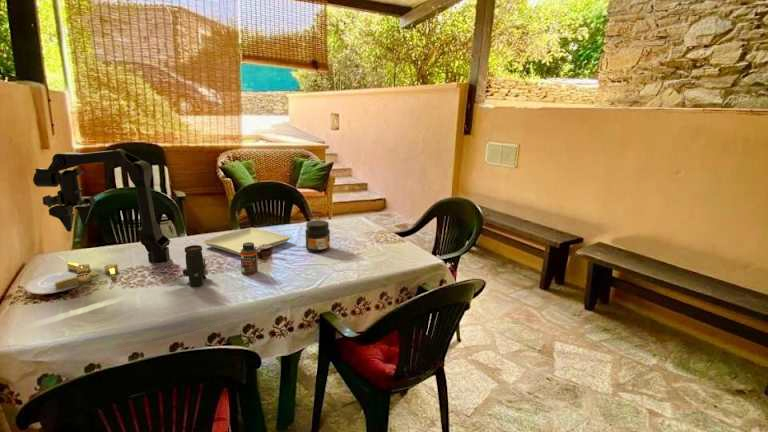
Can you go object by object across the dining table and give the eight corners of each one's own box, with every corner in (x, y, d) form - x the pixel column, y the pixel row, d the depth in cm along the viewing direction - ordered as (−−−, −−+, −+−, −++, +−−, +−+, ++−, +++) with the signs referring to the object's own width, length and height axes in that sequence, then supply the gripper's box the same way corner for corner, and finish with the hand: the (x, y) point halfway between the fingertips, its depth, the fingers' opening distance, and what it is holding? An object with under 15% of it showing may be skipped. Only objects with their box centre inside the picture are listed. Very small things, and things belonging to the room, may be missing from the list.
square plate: (292, 244, 194) (292, 236, 193) (244, 262, 172) (243, 252, 171) (251, 233, 208) (251, 225, 207) (201, 248, 186) (201, 240, 185)
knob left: (89, 278, 149) (88, 271, 148) (93, 281, 146) (92, 274, 146) (54, 287, 141) (53, 280, 141) (58, 290, 139) (56, 283, 138)
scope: (204, 240, 152) (207, 249, 143) (208, 277, 156) (211, 287, 147) (179, 243, 148) (180, 252, 140) (183, 280, 152) (184, 291, 143)
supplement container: (323, 254, 181) (323, 227, 177) (301, 251, 184) (300, 224, 181) (334, 247, 190) (333, 221, 187) (312, 244, 193) (312, 218, 190)
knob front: (93, 271, 154) (92, 264, 154) (81, 275, 151) (80, 268, 150) (75, 266, 158) (74, 260, 158) (64, 270, 155) (63, 263, 154)
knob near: (105, 271, 155) (103, 264, 154) (117, 269, 157) (116, 262, 156) (107, 281, 147) (105, 274, 146) (120, 278, 149) (119, 271, 149)
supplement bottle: (243, 276, 157) (241, 247, 154) (240, 270, 162) (238, 242, 159) (259, 273, 160) (258, 245, 157) (256, 268, 165) (254, 240, 162)
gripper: (62, 182, 164) (69, 221, 168) (28, 192, 146) (36, 235, 150) (93, 182, 165) (99, 221, 169) (63, 192, 147) (70, 235, 152)
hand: (76, 227), depth 160 cm, fingers open, 9 cm apart
